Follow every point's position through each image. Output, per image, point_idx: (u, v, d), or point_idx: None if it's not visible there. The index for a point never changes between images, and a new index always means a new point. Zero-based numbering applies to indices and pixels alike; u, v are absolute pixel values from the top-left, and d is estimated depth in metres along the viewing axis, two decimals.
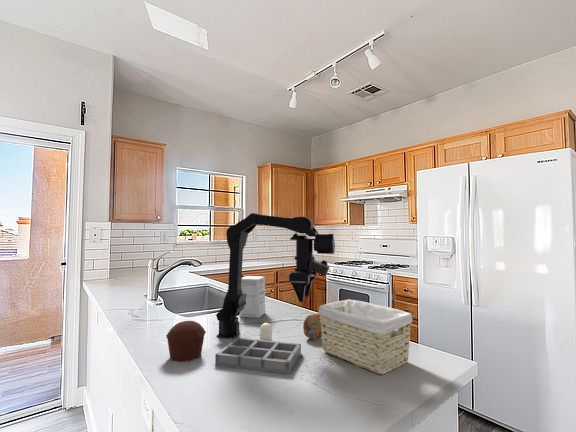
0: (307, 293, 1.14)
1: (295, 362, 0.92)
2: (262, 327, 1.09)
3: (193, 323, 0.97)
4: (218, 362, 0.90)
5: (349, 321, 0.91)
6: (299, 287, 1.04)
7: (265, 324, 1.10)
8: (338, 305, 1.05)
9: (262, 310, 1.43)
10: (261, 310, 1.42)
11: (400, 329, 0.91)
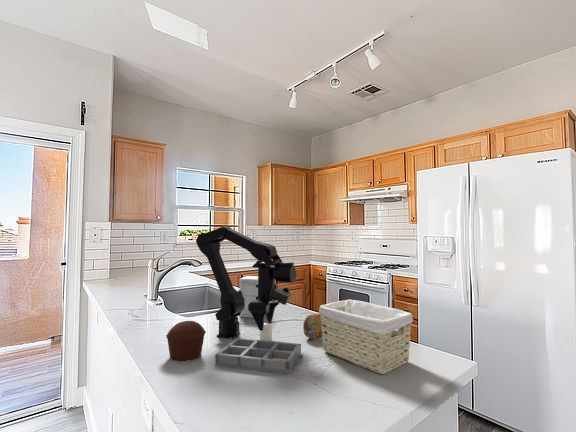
0: (270, 319, 1.15)
1: (295, 362, 0.92)
2: None
3: (193, 323, 0.97)
4: (218, 362, 0.90)
5: (349, 321, 0.91)
6: (259, 316, 1.05)
7: (265, 324, 1.10)
8: (338, 305, 1.05)
9: None
10: None
11: (400, 329, 0.91)
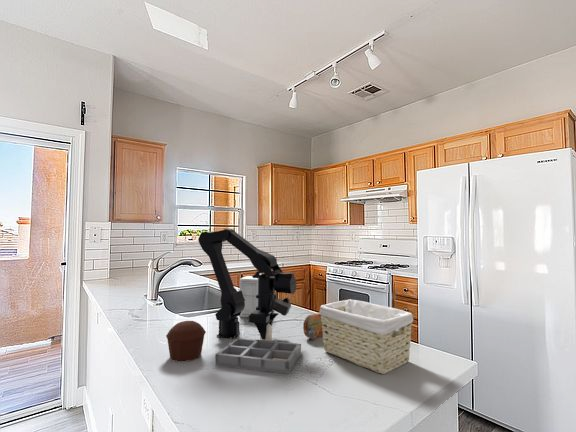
0: None
1: (295, 362, 0.92)
2: None
3: (193, 323, 0.97)
4: (218, 362, 0.90)
5: (350, 321, 0.91)
6: (261, 325, 1.07)
7: None
8: (339, 304, 1.05)
9: None
10: None
11: (401, 329, 0.92)
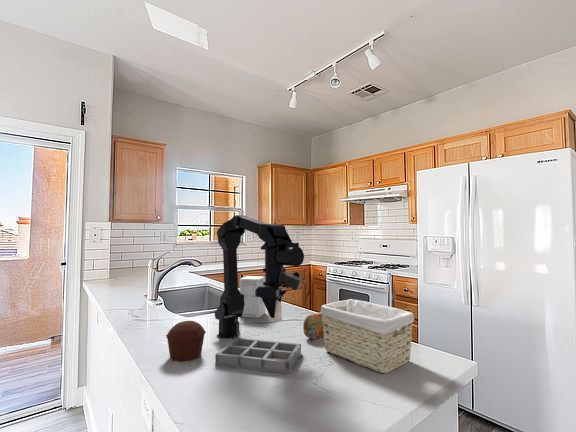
0: None
1: (295, 362, 0.92)
2: None
3: (193, 323, 0.97)
4: (218, 362, 0.90)
5: (351, 320, 0.92)
6: (270, 301, 0.95)
7: None
8: (340, 304, 1.05)
9: (262, 310, 1.43)
10: (261, 310, 1.42)
11: (402, 328, 0.92)
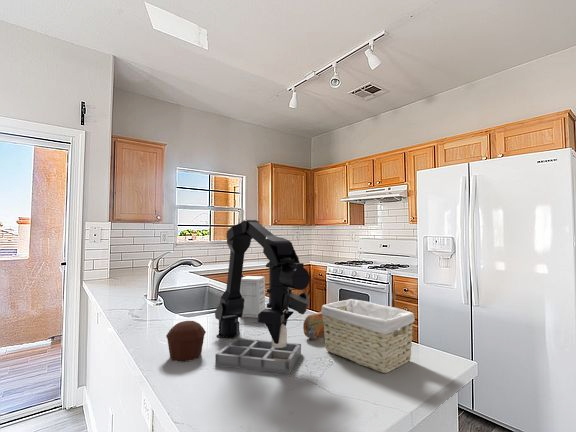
0: None
1: (295, 362, 0.92)
2: None
3: (193, 323, 0.97)
4: (218, 362, 0.90)
5: (352, 320, 0.92)
6: (274, 326, 0.87)
7: None
8: (340, 304, 1.06)
9: (262, 310, 1.43)
10: (261, 310, 1.42)
11: (403, 328, 0.92)
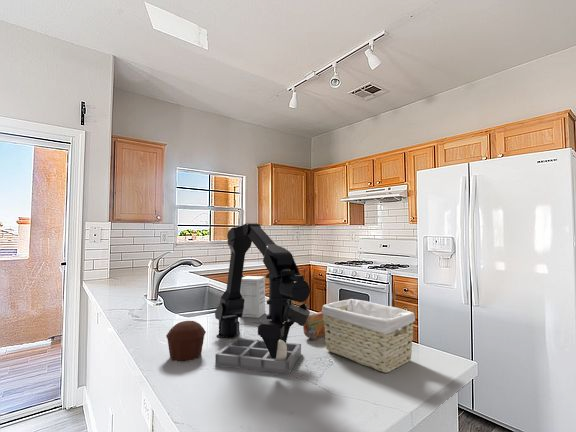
0: None
1: (295, 362, 0.92)
2: None
3: (193, 323, 0.97)
4: (218, 362, 0.90)
5: (353, 320, 0.92)
6: (271, 341, 0.84)
7: None
8: (341, 304, 1.06)
9: (262, 310, 1.43)
10: (261, 310, 1.42)
11: (403, 328, 0.92)
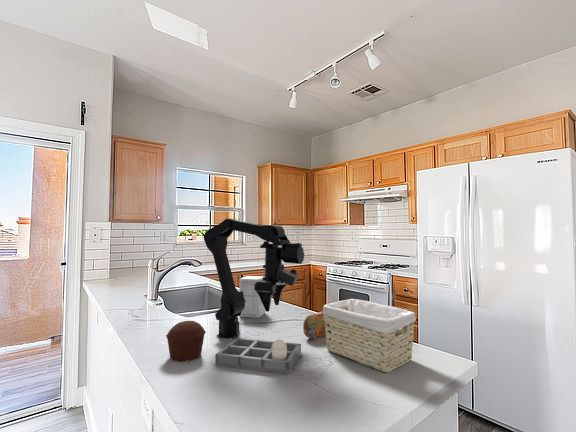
0: (277, 302, 1.13)
1: (295, 362, 0.92)
2: (275, 345, 0.88)
3: (193, 323, 0.97)
4: (218, 362, 0.90)
5: (354, 320, 0.92)
6: (265, 296, 1.04)
7: (278, 341, 0.89)
8: (341, 304, 1.06)
9: (262, 310, 1.43)
10: (261, 310, 1.42)
11: (404, 328, 0.93)
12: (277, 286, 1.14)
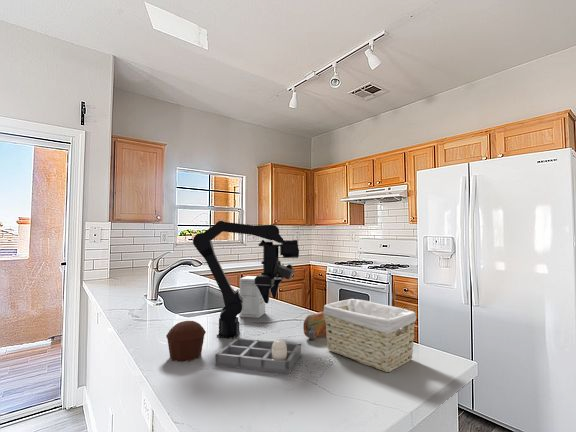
0: (274, 295, 1.23)
1: (295, 362, 0.92)
2: (275, 345, 0.88)
3: (193, 323, 0.97)
4: (218, 362, 0.90)
5: (355, 320, 0.92)
6: (264, 289, 1.14)
7: (278, 341, 0.89)
8: (342, 304, 1.06)
9: (262, 310, 1.43)
10: (261, 310, 1.42)
11: (405, 327, 0.93)
12: (274, 281, 1.24)
